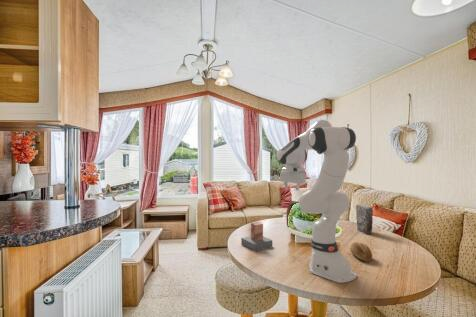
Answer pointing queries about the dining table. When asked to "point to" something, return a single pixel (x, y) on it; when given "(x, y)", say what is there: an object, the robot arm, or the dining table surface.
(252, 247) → the base block
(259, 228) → the terracotta block
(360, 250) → the bread roll
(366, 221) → the stone block
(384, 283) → the dining table surface
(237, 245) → the dining table surface
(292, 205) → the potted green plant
